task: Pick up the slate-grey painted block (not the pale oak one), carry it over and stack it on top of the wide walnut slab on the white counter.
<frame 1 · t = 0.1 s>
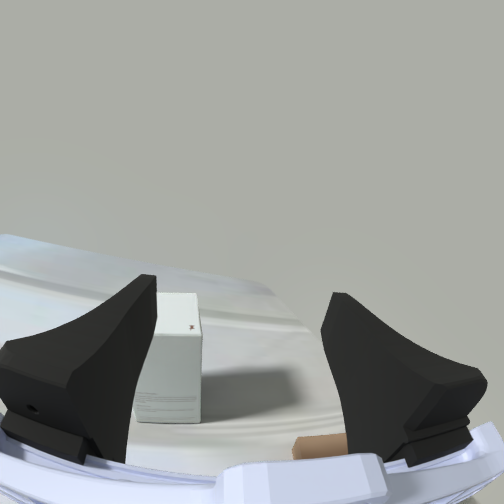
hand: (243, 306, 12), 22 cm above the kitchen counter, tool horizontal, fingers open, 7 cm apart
supplement box: (167, 401, 31), on the kitchen counter
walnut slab: (329, 474, 24), on the kitchen counter
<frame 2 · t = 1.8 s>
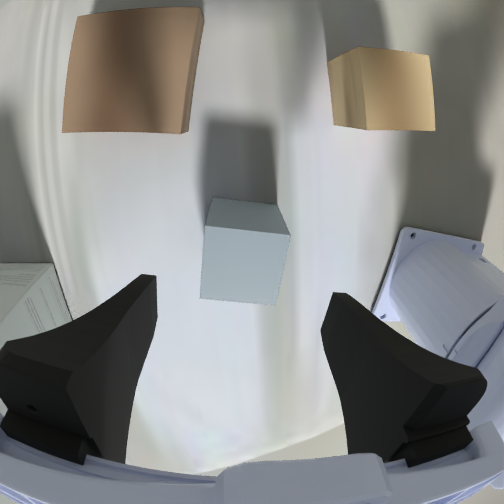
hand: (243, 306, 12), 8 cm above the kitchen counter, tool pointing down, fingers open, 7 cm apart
supplement box: (36, 298, 21), on the kitchen counter
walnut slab: (139, 73, 15), on the kitchen counter
slate block: (241, 230, 19), on the kitchen counter
oak block: (360, 93, 16), on the kitchen counter
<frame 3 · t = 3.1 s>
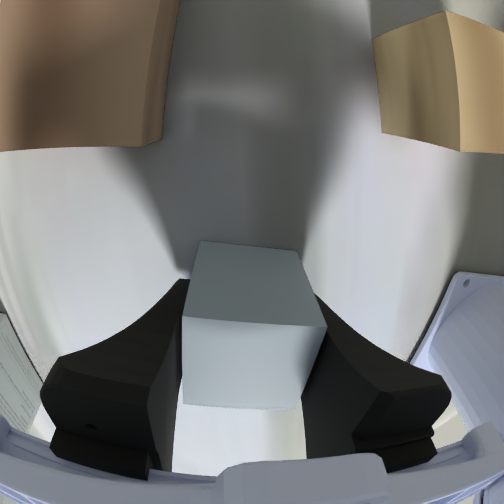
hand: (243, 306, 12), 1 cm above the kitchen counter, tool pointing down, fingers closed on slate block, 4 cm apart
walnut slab: (91, 57, 9), on the kitchen counter
slate block: (242, 287, 13), on the kitchen counter, touching gripper
oak block: (417, 88, 10), on the kitchen counter
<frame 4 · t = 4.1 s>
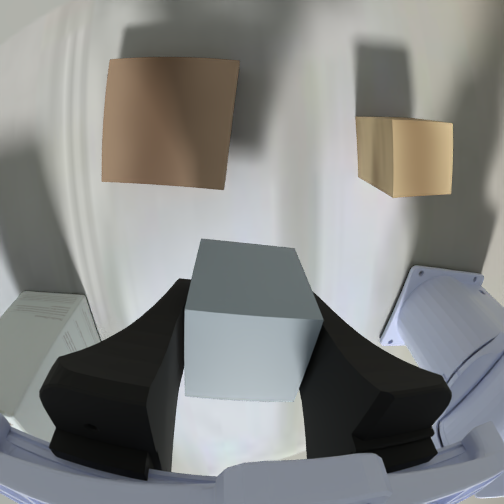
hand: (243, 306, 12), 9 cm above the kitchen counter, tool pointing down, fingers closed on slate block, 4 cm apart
supplement box: (65, 324, 23), on the kitchen counter
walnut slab: (175, 119, 17), on the kitchen counter
slate block: (242, 283, 14), point 7 cm above the kitchen counter, touching gripper
oak block: (384, 146, 18), on the kitchen counter
when the fingers open (5 cm above the kitchen counter, at t = 5.4 s): slate block moves 1 cm, resting on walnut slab.
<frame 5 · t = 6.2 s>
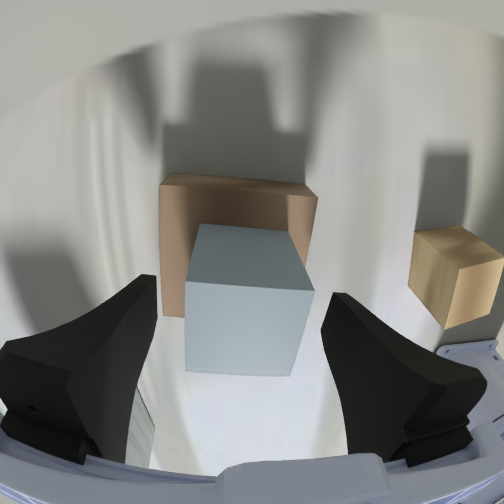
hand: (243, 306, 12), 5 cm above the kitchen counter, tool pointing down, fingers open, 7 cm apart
supplement box: (111, 403, 23), on the kitchen counter
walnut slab: (233, 237, 17), on the kitchen counter, touching slate block
slate block: (239, 266, 15), point 3 cm above the kitchen counter, touching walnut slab
oak block: (434, 255, 18), on the kitchen counter
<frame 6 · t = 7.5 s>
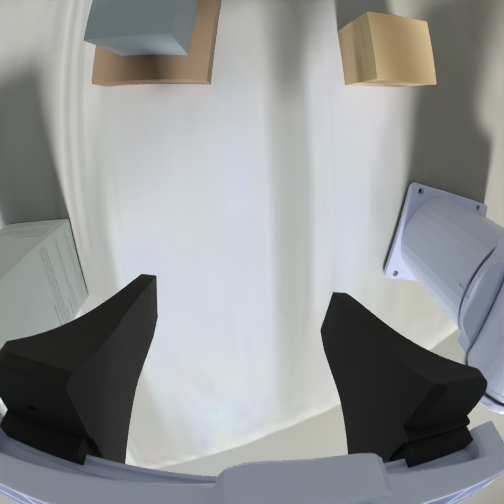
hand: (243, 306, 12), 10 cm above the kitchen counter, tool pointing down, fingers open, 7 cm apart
supplement box: (47, 259, 22), on the kitchen counter
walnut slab: (164, 36, 16), on the kitchen counter, touching slate block
slate block: (159, 23, 13), point 3 cm above the kitchen counter, touching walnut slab
oak block: (368, 58, 16), on the kitchen counter
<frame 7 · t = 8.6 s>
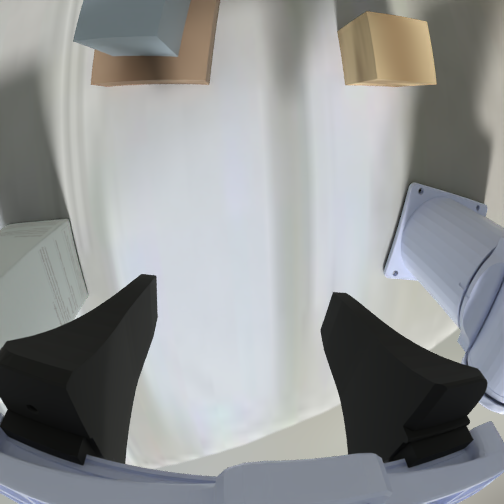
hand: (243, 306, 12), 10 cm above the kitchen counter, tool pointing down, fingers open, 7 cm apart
supplement box: (47, 259, 22), on the kitchen counter
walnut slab: (163, 36, 16), on the kitchen counter, touching slate block
slate block: (150, 25, 13), point 3 cm above the kitchen counter, touching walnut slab
oak block: (368, 58, 16), on the kitchen counter
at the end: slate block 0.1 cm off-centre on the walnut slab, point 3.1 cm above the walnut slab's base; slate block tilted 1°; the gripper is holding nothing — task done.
